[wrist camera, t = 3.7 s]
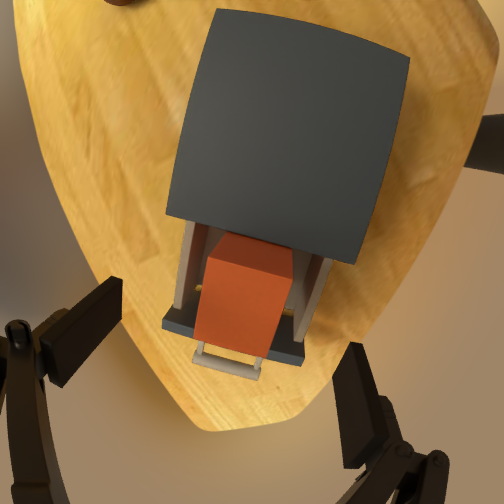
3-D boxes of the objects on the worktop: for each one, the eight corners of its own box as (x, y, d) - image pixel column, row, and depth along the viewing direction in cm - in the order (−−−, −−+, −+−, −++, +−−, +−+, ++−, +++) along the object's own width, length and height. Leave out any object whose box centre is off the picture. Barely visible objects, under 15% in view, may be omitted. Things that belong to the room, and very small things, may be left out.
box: (291, 227, 28) (293, 279, 17) (274, 283, 30) (265, 359, 19) (240, 213, 28) (207, 256, 17) (226, 270, 30) (192, 338, 19)
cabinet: (337, 234, 30) (354, 265, 21) (197, 197, 30) (165, 214, 22) (378, 80, 24) (410, 57, 16) (235, 43, 24) (216, 7, 16)
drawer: (288, 356, 34) (286, 396, 28) (179, 326, 35) (158, 361, 28) (345, 193, 27) (363, 205, 21) (209, 157, 28) (187, 159, 21)
